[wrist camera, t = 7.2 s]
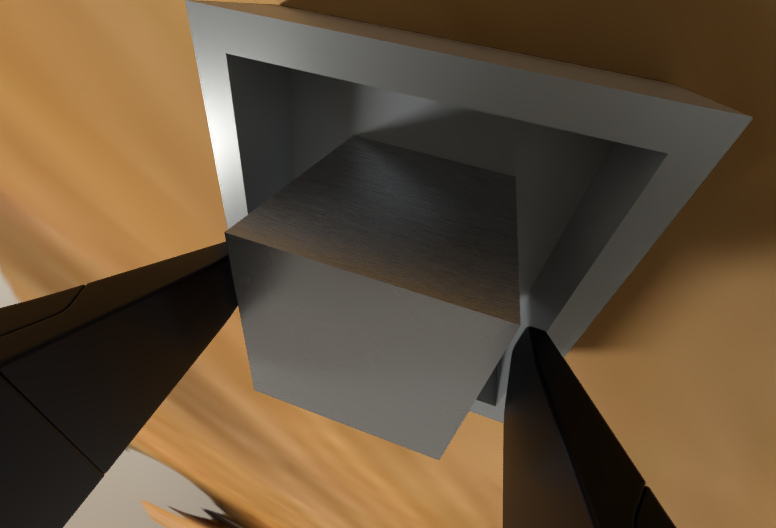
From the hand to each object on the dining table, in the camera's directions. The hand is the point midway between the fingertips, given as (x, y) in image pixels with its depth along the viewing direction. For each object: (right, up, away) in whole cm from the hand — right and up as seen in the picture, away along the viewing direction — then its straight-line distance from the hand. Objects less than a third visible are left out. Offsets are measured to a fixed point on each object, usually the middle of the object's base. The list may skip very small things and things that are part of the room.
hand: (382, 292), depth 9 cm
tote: (+1, +3, +3) cm, 4 cm away
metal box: (+1, +2, +3) cm, 4 cm away
